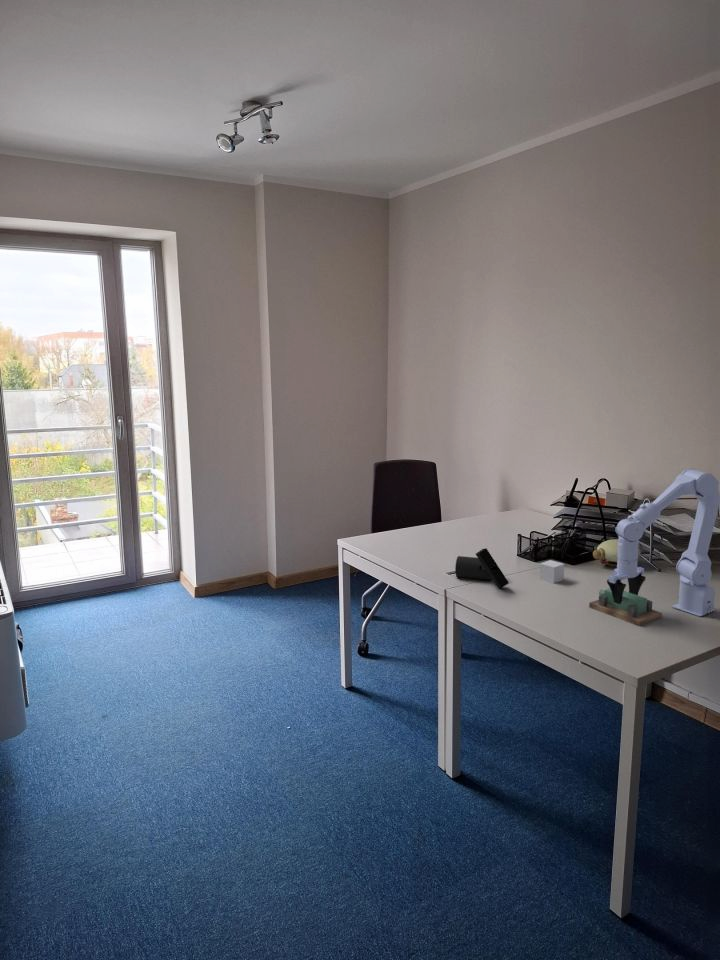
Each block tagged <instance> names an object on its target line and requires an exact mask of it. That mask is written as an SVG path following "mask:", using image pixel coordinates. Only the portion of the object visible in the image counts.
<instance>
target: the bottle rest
mask: <svg viewBox="0 0 720 960" xmlns="http://www.w3.org/2000/svg"><path fill="white" fill-rule="evenodd" d="M607 600H608V597H607V596H604V595H598V599H597V600H594V601H590V602H589V606H588V607H589V608H590V609H593V610H596V611H597V612H601V613H604V614H606V615H609V616H612V617H614V618H616V617H617V619H619V618H620V619H619V620H622V621H624V620H625V622H628V623H630V624H632V623H633V625H635V626H638V627H640V626H643V625H645V624H648V623H651V622H653V621H657V620H659V619H662V618H663V612H661V611H658V610H655V609H653V601H652V600H649V599H647V608H646V612H645V613H642V614H640V615H636V613H637V607H636V606H633V605H629V606H628V610H627V612H626V611H624V610H621V609H618V608H615V607H613V606H610V605H607Z"/></svg>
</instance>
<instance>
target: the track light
mask: <svg viewBox="0 0 720 960" xmlns="http://www.w3.org/2000/svg"><path fill="white" fill-rule="evenodd" d="M475 556H476V557H473V556H472V557H471V556H461V555H458V556H457V557H456V560H455V569H454V571H455V572H454V573H455V577H457V578H463V577H464V578H465V579H473V578H474V579H477V580H486V581H492V583H494V585H495V587H496V588H497V587H498V588H497V589H502V588H504V587H505V586H506V585H508V584H510V583H509V580H508V579H507V577H506V576H505V575H504V572H503V571H502V570H501V569H500V567H499V565H498V564H497V562H496V561H495V559H494V558H493V556H492V555H491V553H490V552H489V550H488V548H481V550H479V551H478V552H476V553H475ZM474 579H473V580H474Z"/></svg>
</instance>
